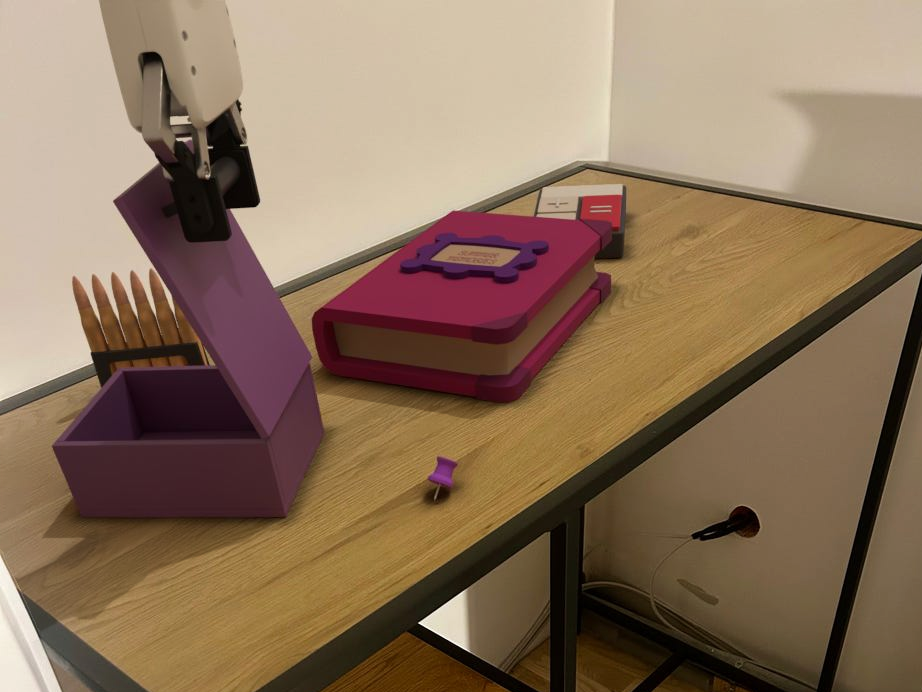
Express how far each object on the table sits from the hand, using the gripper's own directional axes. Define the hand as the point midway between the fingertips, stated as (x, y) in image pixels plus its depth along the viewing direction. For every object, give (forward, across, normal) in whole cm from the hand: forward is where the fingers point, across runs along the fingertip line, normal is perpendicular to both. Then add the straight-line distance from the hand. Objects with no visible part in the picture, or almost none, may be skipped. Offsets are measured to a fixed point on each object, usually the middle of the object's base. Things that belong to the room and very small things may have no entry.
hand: (224, 220), depth 67 cm
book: (+21, -28, +13) cm, 37 cm away
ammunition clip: (+21, -15, -17) cm, 31 cm away
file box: (+21, 0, -7) cm, 22 cm away
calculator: (+21, -54, +23) cm, 62 cm away
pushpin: (+21, +3, +14) cm, 25 cm away
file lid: (+5, 0, -2) cm, 5 cm away
